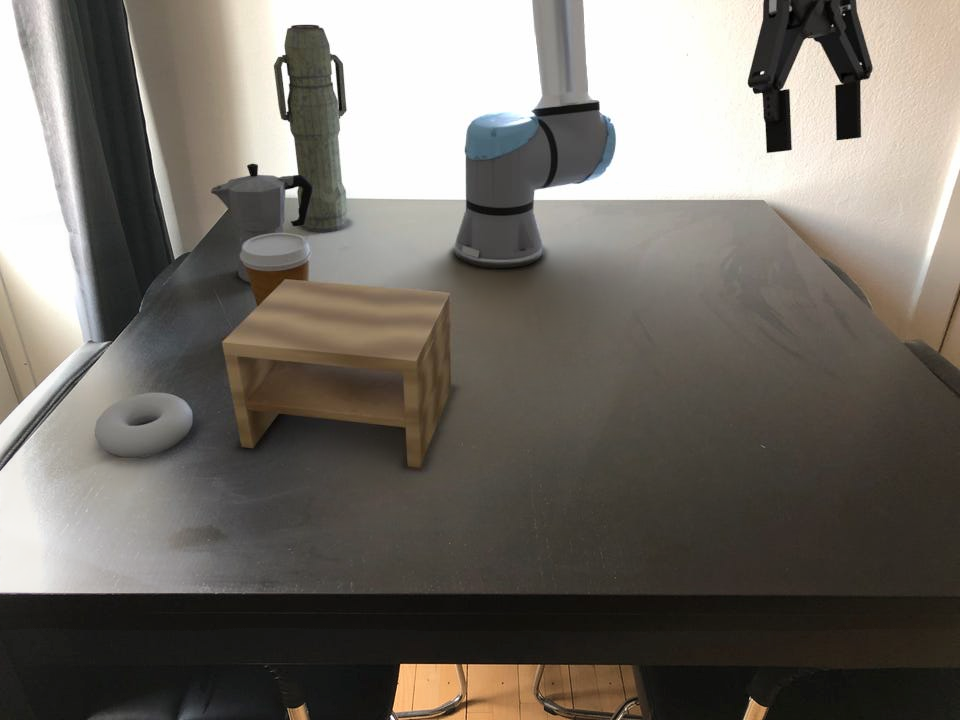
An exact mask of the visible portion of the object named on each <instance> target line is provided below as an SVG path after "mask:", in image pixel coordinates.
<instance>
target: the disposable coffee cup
mask: <svg viewBox="0 0 960 720" xmlns="http://www.w3.org/2000/svg"><path fill="white" fill-rule="evenodd" d="M312 252H313V251H312V248H311V246H310V245H309V243H308V240H307V239H306V238H305V237H304V236H302V235H299V234H297V233H288V232H284V233H272V234H265V235H260V236H256V237H253V238H251V239H249V240H247V241H246V242H244V244H243V245H242V252H241V253H240V259H241V261H243V264H244V265H245V267H246V270H247V274H248V277H249V280H250V282H249V283H250V286H251V291H252V294H253V296H254V300H255V303H256V308H257V307H258V306H259V305H260V304H261V303H262V302H263V301H264V300H265V299H266V298H267V297H268V296H269V295H270V294H271V293H272V292H273V291H274V290H275V289H276V288H277V287H278V286H279V285H280V284H281V283H282V282H283V281H284V280H285V279H289V280H301V281H310V280H309V276H310V275H309V273H310V271H309V270H310V269H309V268H310V258H311V255H312Z"/></svg>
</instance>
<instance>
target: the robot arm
mask: <svg viewBox="0 0 960 720" xmlns="http://www.w3.org/2000/svg"><path fill="white" fill-rule="evenodd" d="M531 2H532V3H531V5H532V17H533V27H534V28H533V30H534V31H533V32H534V43H535V44H534V45H535V56H536V57H535V58H536V71H537V72H536V73H537V84H538V85H537V86H538V97H537V99H536V100H535V101H534V103H533V104H532V105H531V107H530V108H531V111H529V110H524V109H511V110H496V111H492V112H488V113H485V114H482V115H480V116H478V117H476V118H474V119H473V120H472V121H471V122H470V124H469V125H468V126H467V129H466V134H465V145H464V155H465V210H464V213H463V215H462V216H463V217H462V220H461V223H460V226H459V228H458V232H457V234H456V238H455V244H454V247H455V248H454V249H455V251H454V252H455V255H456V257H458V258H459V259H460V260H462V261H463V262H465V263H468V264H471V265H473V266H477V267H478V266H479V267H481V268H489V269H490V268H491V269H510V268H511V269H512V268H517V267H518V268H519V267H523V266H527V265H530V264H532V263H534V262H536V261H537V260H539V259H540V258H541V256H542V253H543V241H542V237H541V234H540V229H539V226H538V223H537V218H536V215H535V210H534V205H535V192H536V190H537V191H538V190H542V189H543V190H544V189H549V188H555V187H560V186H561V187H562V186H567V185H572V184H573V185H579V184H583V183H585V182H587V181H591V180H595V179H598V178H599V177H601V176H602V175H603V174H604V173H605V172H606V170H607V168H608V167H610V165H611V163H612V161H613V159H614V156H615V153H616V152H615V151H616V146H617V135H616V129H615V125H614V123H612V122H611V121H612V119H611V117H610V116H609V115H608V114H607V113H605V112H604V111H601V108H600V107H601V106H600V99H599V98H598V97H597V96H596V95H595V94H594V93H592V91H591V88H590V70H589V53H588V52H589V51H588V31H587V17H586V16H587V13H586V0H531ZM859 17H860V16H859V13H858V7H857V0H763V4H762V21H761V26H760V29H759V33H758V38H757V42H756V46H755V50H754V53H753V57H752V61H751V65H750V70H749V74H748V78H747V86H748V88H750V89H752V92H753V94H754V95H760V94H762V108H763V110H762V112H763V114H762V115H763V121H764V123H765V145H766V146H765V147H766V148H765V149H766V154H771V153H772V154H773V153H781V152H788V151H793V150H792V149H793V146H792V145H793V143H792V119H791V117H792V116H791V95H790V93H791V91H790V88H786V89H783V88H784V87H785V85H786V82H787V80H788V77H789V76H790V73H791V71H792V69H793V66H794V64H795V62H796V59H797V57H798V55H799V52H800V50H801V48H802V45H803V44H804V41H805V40H807V39H813V40H814V42H816V43H819V44H820V45H821V47H822V50H823V52H824V53H825V56H826V57H827V59H828V62H829V63H830V65H831V67H832V69H833V71H834V73H835V75H836V76H837V78H838V81H839V82H840V83H839V84H835V85H834V90H835V93H834V94H835V95H834V96H835V137H836V141H837V142H838V141H844V140H853V139H860V138H862V114H861V113H862V109H861V107H862V101H861V100H862V99H861V81H864V80H865V81H866V80H869V79H870V78H871V74H872V73H873V70H874V69H873V68H874V67H873V63H872V60H871V56H870V53H869V49H868V45H867V42H866V37H865V35H864V32H863V28H862V25H861V24H862V23H861V21H860V18H859ZM762 72H763V73H762Z"/></svg>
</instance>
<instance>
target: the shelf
mask: <svg viewBox="0 0 960 720" xmlns="http://www.w3.org/2000/svg"><path fill="white" fill-rule="evenodd" d="M451 334H452V333H451V292H447V291H434V290H423V289H421V290H420V289H409V288H397V287H386V286H385V287H384V286H372V285H361V284H348V283H336V282H323V281H313V280H312V281H311V280H308V281H301V280H289V279H285V280H284V281H283V282H282V283H281V284H280V285H279V286H278V287H277V288H276V289H275V290H274V291H273V292H272V293H271V294H270V295H269V296H268V297H267V298H266V299H265V300H264V301H263V302H262V303H261V304H260V305H259V306H258V307H257V306H256V307H255V308H254V309H253V310H252V312H250V313H249V315H247V316H246V318H245V319H243V321H241V323H240V324H239V325H237V326H236V327H235V328H234V329H233V330H232V332H231V333H229V335H228V336H227V337H225V338H224V340H222V342H221V344H222V350H223V355H224V359H225V365H226V366H225V367H226V371H227V376H228V382H229V387H230V392H231V398H232V404H233V409H234V414H235V419H236V425H237V431H238V436H239V441H240V446H241V448H248V449H254V448H255V446H256V445H257V444H258V443H259V441H260V440H261V439H262V437H263V436H264V434H265V433H266V432H267V430H268V429H269V428H270V426H271V425H272V424H273V422H274V421H275V420H276V418H277V416H278V415H279V414H280V415H290V416H298V417H307V418H315V419H316V418H317V419H324V420H325V419H326V420H333V421H334V420H335V421H344V422H354V423H362V424H372V425H381V426H390V427H397V428H398V427H399V428H405V443H406V463H407V467H409V468H416V469H417V468H419V469H420V468H421V467H422V465H423V462H424V459H425V456H426V454H427V451H428V449H429V446H430V444H431V441H432V438H433V436H434V434H435V431H436V428H437V425H438V423H439V421H440V418H441V416H442V413H443V411H444V408H445V406H446V403H447V401H448V397H449V395H450V392H451V389H452V350H451V349H452V348H451V347H452V346H451V345H452V344H451V343H452V342H451V340H452V339H451V336H452V335H451Z"/></svg>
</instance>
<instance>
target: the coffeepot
mask: <svg viewBox="0 0 960 720" xmlns="http://www.w3.org/2000/svg"><path fill="white" fill-rule="evenodd" d="M246 166H247V170H248V173H249V175H246V176H241V177H237V178H233V179H232V178H231V179H229V180H228V181H227V182H225V183H223V184H219V185H216V186H214V187H212V188H211V190H210V193H211V194H212V195H215V196H217V198H218V199H220V201H221V202H222V203H223V204H224V206H225V207H226V208H227V210H229V211H230V213H231V215H232V216H231V217H232V219H233V221H234V225H235V227H236V228H237V229H239V233H240V234H239V235H240V237H239V239H238V270H237V271H238V273H237V275H238V277H239V278H240V279H242V280H243V281H245V282H247V283H250V280H249V277H248V274H247V270H246V267H245V265H244V264H243V261H241V259H240V253H241V252H242V245H243V244H244V242H246V241H247V240H249V239H251V238H253V237H256V236H260V235H265V234H272V233H285V232H284V227H283V225H284V223H285V220H286V219H285V218H286V191H288V190H291V189H295V188H298V187H302V188H303V190H302V193H301V204H300V206H299V205H298V218H297V219H295V220H291V221H290V223H291V225H292V226H293V227H302V225H304V224H305V222H306V218H307V213H308V209H309V205H310V201H311V197H312V193H313V185H312V184H311V182H310V181H308V180H307V179H306V178H305V177H304V176H303V175H298V174H295V175H294V174H293V175H285V176H284V175H283V176H282V175H281V176H279V177H278V176H275V175H270V174H269V175H267V174H259V173H258V172H259V164H257V163H250V164H247V165H246Z"/></svg>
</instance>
